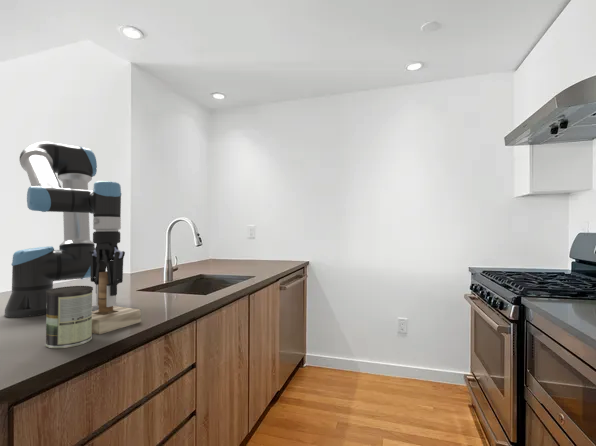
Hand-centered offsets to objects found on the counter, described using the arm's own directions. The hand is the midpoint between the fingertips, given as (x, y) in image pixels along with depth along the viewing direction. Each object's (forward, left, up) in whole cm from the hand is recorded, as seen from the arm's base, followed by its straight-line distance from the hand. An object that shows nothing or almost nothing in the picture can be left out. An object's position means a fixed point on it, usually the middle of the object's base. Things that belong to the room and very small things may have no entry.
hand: (106, 305), depth 104 cm
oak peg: (0, 0, -2) cm, 2 cm away
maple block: (+1, 0, -6) cm, 6 cm away
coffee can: (+6, -14, -6) cm, 17 cm away
